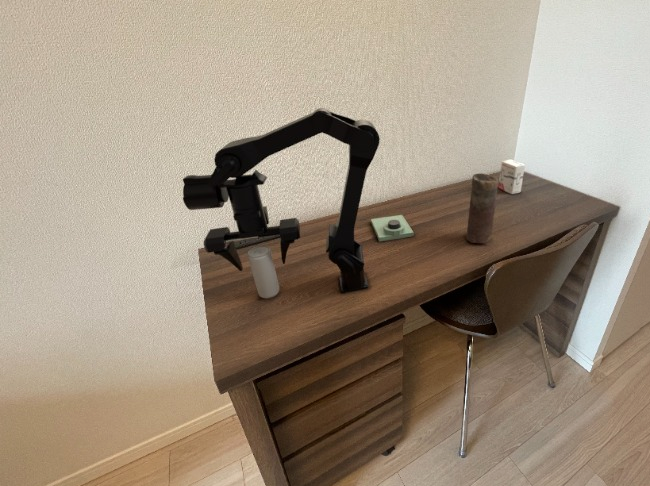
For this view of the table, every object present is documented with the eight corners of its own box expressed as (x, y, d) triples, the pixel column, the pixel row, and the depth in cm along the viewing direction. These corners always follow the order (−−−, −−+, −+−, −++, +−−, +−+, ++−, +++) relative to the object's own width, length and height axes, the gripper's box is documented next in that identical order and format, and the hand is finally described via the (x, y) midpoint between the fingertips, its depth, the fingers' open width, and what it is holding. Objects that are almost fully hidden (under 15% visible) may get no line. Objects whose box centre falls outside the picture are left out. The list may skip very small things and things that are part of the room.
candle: (473, 230, 103) (479, 170, 93) (495, 237, 98) (503, 175, 89) (461, 240, 97) (467, 177, 88) (484, 248, 93) (491, 183, 84)
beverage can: (273, 300, 74) (262, 258, 69) (254, 298, 75) (242, 255, 70) (283, 287, 79) (274, 246, 73) (266, 285, 79) (255, 244, 74)
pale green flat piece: (413, 236, 100) (413, 228, 98) (379, 242, 97) (379, 233, 96) (402, 218, 111) (402, 210, 110) (371, 222, 109) (370, 214, 107)
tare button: (401, 229, 99) (401, 224, 98) (389, 230, 98) (389, 225, 97) (398, 223, 102) (397, 218, 101) (387, 225, 101) (386, 220, 100)
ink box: (497, 187, 135) (500, 160, 130) (506, 185, 137) (510, 158, 132) (511, 194, 128) (516, 166, 123) (521, 192, 130) (525, 164, 125)
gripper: (294, 185, 75) (304, 242, 82) (206, 195, 71) (225, 254, 78) (293, 204, 66) (305, 266, 73) (192, 217, 61) (215, 282, 69)
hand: (263, 266), depth 73 cm, fingers open, 9 cm apart
